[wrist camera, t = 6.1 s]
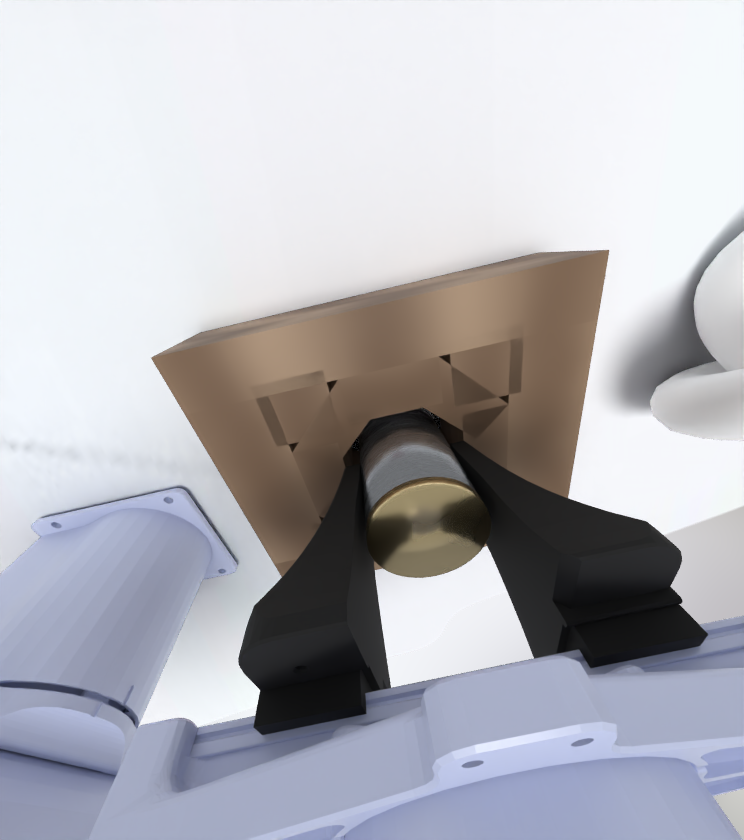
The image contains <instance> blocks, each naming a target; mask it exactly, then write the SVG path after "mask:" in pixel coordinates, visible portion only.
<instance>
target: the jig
mask: <svg viewBox="0 0 744 840" xmlns="http://www.w3.org/2000/svg"><path fill="white" fill-rule="evenodd" d="M608 255H609V250H597V251H570V252H542V253H535V254H531V255H527V256H523V257H519V258H514V259H510V260H506V261H502V262H497V263H493V264H489V265H485V266H480V267H476V268H472V269H468V270H463V271H459V272H455V273H451V274H447V275H442V276H438V277H434V278H430V279H425V280H421V281H417V282H413V283H408V284H404V285H400V286H396V287H392V288H387V289H383V290H379V291H375V292H370V293H366V294H362V295H358V296H353V297H349V298H345V299H341V300H336V301H332V302H328V303H324V304H320V305H315V306H311V307H307V308H303V309H298V310H294V311H290V312H286V313H281V314H277V315H273V316H269V317H265V318H260V319H256V320H252V321H248V322H243V323H239V324H235V325H231V326H226V327H222V328H218V329H214V330H210V331H205V332H201V333H199V334H197V335H195V336H193V337H191V338H189V339H187V340H185V341H183V342H181V343H179V344H177V345H175V346H173V347H171V348H169V349H167V350H165V351H163V352H161V353H159V354H158V355H156V356H154V357H152V360H153V362H154V364H155V365H156V367H157V369H158V370H159V372H160V374H161V375H162V377H163V379H164V380H165V382H166V384H167V385H168V387H169V389H170V390H171V392H172V394H173V395H174V397H175V399H176V400H177V402H178V404H179V405H180V407H181V409H182V410H183V412H184V414H185V415H186V417H187V419H188V420H189V422H190V424H191V425H192V427H193V429H194V431H195V432H196V434H197V436H198V437H199V439H200V441H201V442H202V444H203V446H204V447H205V449H206V451H207V452H208V454H209V456H210V457H211V459H212V461H213V462H214V464H215V466H216V467H217V469H218V471H219V472H220V474H221V476H222V477H223V479H224V481H225V482H226V484H227V486H228V487H229V489H230V491H231V492H232V494H233V496H234V497H235V499H236V501H237V503H238V504H239V506H240V508H241V509H242V511H243V513H244V514H245V516H246V518H247V519H248V521H249V523H250V524H251V526H252V528H253V529H254V531H255V533H256V534H257V536H258V538H259V539H260V541H261V543H262V544H263V546H264V548H265V549H266V551H267V553H268V554H269V556H270V558H271V559H272V561H273V563H274V564H275V566H276V568H277V570H278V571H279V573H280V575H281V576H282V577H283V576H284V575H285V573H286V572H287V571H288V570H289V568H290V567H291V566H292V565H293V564H294V562H295V561H296V560H297V559H298V557H299V556H300V555H301V553H302V552H303V551H304V549H305V548H306V546H307V545H308V543H309V542H310V541H311V539H312V538H313V536H314V534H315V533H316V531H317V529H318V528H319V526H320V524H321V523H322V521H323V519H324V517H325V515H326V513H327V511H328V509H329V507H330V505H331V503H332V501H333V498H334V496H335V494H336V491H337V489H338V487H339V484H340V481H341V478H342V475H343V472H344V469H345V468H346V467H347V466H352V465H356V464H360V452H359V451H357V450H355V449H353V448H352V444H353V443H354V441H355V440H356V439H357V437H358V436H359V434H360V433H361V432H362V430H363V429H364V427H365V426H366V425H367V423H368V422H369V420H370V419H375V418H379V417H384V416H388V415H392V414H397V413H401V412H406V411H410V410H415V409H419V408H425V409H426V410H428V411H430V412H432V413H433V414H435V415H437V416H438V417H440V426H441V428H440V431H441V432H442V434H443V436H444V438H445V439H446V441H447V443H448V444H449V446H450V443H455V442H459V441H465V442H467V443H468V444H469V445H471V446H472V447H474V448H475V449H477V450H478V451H479V452H481V453H482V454H484V455H485V456H487V457H488V458H490V459H491V460H493V461H494V462H496V463H497V464H499V465H500V466H502V467H504V468H505V469H507V470H509V471H510V472H512V473H514V474H516V475H518V476H519V477H521V478H523V479H525V480H527V481H529V482H531V483H533V484H535V485H537V486H540V487H542V488H544V489H546V490H548V491H551V492H553V493H556V494H558V495H561V496H563V497H566V498H568V494H569V488H570V482H571V476H572V470H573V464H574V458H575V452H576V446H577V440H578V434H579V428H580V422H581V416H582V410H583V404H584V398H585V392H586V386H587V380H588V374H589V368H590V362H591V356H592V350H593V344H594V338H595V332H596V326H597V320H598V314H599V308H600V302H601V296H602V291H603V285H604V279H605V273H606V267H607V261H608ZM360 467H361V464H360ZM485 546H487V544H485V545H484V547H485ZM374 568H375V570H377V569H382V567H380V566H379V565H378V564H377V563H376V562H375V561H374Z"/></svg>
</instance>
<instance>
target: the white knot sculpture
mask: <svg viewBox="0 0 744 840" xmlns="http://www.w3.org/2000/svg"><path fill="white" fill-rule="evenodd" d="M694 314H695V321H696V327H697V330H698V333H699V336H700V338H701V340H702V341H703V343H704V345H705V347H706V348H707V349H708V351H709V352H710V353H711V355H712V356H713V357H714V358H715V359H716V360H717V361H715V362H711V363H707V364H703V365H699V366H696V367H693V368H690V369H687V370H684V371H682V372H680V373H677V374H675V375H674V376H672V377H671V378H669V379H667V380H666V381H664V382H663V383H661V384H660V385H658V386H657V387H656V389H655V391H654V393H653V395H652V397H651V400H650V406H651V410H652V414H653V417H655V418H656V419H657V420H658V421H660V422H661V423H662V424H663V425H664V426H666V427H667V428H668V429H669V430H671V431H675V432H679V433H682V434H686V435H691V436H695V437H699V438H704V439H713V440H731V441H744V231H743V232H742V233H741V234H739V235H738V236H737V237H736V238H735V239H734V240H733V241H732V242H730V243H729V244H728V245H727V246H726V247H725V248H724V249H723V250H721V251H720V252H719V254H718V255H717V256H716V257H715V259H714V260H713V261H712V262H711V264H710V265H709V266H708V268H707V269H706V270H705V272H704V274H703V276H702V278H701V280H700V282H699V284H698V286H697V289H696V294H695V298H694Z"/></svg>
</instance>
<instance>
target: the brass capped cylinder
mask: <svg viewBox="0 0 744 840" xmlns="http://www.w3.org/2000/svg"><path fill="white" fill-rule="evenodd" d="M359 451H360V464H361V475H362V488H363V500H364V512H365V525H366V537H367V547H368V551H369V553H370V555H371V557H372V558H373V560H374V561H375V562H376V563H377V564H378V565H379V566H380V567H382V568H383V569H385V570H387V571H388V572H391V573H393V574H396V575H400V576H405V577H414V578H423V577H431V576H437V575H441V574H444V573H447V572H450V571H452V570H455V569H457V568H459V567H461V566H462V565H464V564H466V563H467V562H469V561H470V560H471V559H472V558H474V557H475V556H476V555H477V554H478V553H479V552H480V551H481V549H482V548H483V547H484V545H485V544H486V542H487V540H488V538H489V535H490V531H491V517H490V514H489V512H488V510H487V508H486V506H485V505H484V503H483V501H482V500H481V498H480V496H479V495H478V493H477V491H476V490H475V488H474V486H473V485H472V483H471V481H470V480H469V478H468V476H467V474H466V473H465V471H464V469H463V468H462V466H461V464H460V463H459V461H458V459H457V458H456V456H455V454H454V453H453V451H452V449H451V448H450V446H449V444H448V443H447V441H446V439H445V438H444V436H443V434H442V432H441V431H440V429H439V427H438V426H437V424H436V422H435V421H434V419H433V418H432V416H431V415H430V414H429V413H428V412H427V411H425V410H424V409H422V408H419V409H415V410H410V411H406V412H401V413H397V414H392V415H388V416H384V417H379V418H375V419H370V420H369V422H368V423H367V425H366V426H365V427H364V429H363V430H362V432H361V433H360V434H359Z"/></svg>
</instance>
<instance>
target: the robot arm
mask: <svg viewBox="0 0 744 840" xmlns="http://www.w3.org/2000/svg"><path fill="white" fill-rule="evenodd" d="M450 448H451V449H452V451H453V453H454V454H455V456H456V458H457V459H458V461H459V463H460V464H461V466H462V468H463V469H464V471H465V473H466V474H467V476H468V478H469V480H470V481H471V483H472V485H473V486H474V488H475V490H476V491H477V493H478V495H479V496H480V498H481V500H482V501H483V503H484V505H485V506H486V508H487V510H488V512H489V514H490V517H491V531H490V535H489V538H488V540H487V542H486V544H487V546H488V548H489V550H490V552H491V554H492V557H493V559H494V561H495V564H496V566H497V568H498V570H499V573H500V575H501V577H502V580H503V582H504V584H505V587H506V589H507V591H508V594H509V596H510V598H511V601H512V603H513V606H514V608H515V611H516V613H517V616H518V618H519V620H520V623H521V625H522V628H523V630H524V633H525V636H526V638H527V641H528V644H529V646H530V649H531V651H532V654H533V656H534V659H529V660H525V661H520V662H515V663H510V664H505V665H500V666H496V667H491V668H486V669H481V670H476V671H471V672H466V673H461V674H456V675H452V676H447V677H442V678H437V679H432V680H427V681H422V682H417V683H413V684H408V685H403V686H398V687H393V688H391V685H390V678H389V672H388V665H387V659H386V652H385V645H384V638H383V631H382V624H381V617H380V610H379V603H378V595H377V587H376V580H375V568H374V560H373V558H372V557H371V555H370V553H369V551H368V547H367V537H366V525H365V512H364V500H363V488H362V475H361V467H360V464H356V465H352V466H347V467H346V468H345V469H344V472H343V475H342V478H341V481H340V484H339V487H338V489H337V491H336V494H335V496H334V498H333V501H332V503H331V505H330V507H329V509H328V511H327V513H326V515H325V517H324V519H323V521H322V523H321V524H320V526H319V528H318V529H317V531H316V533H315V534H314V536H313V538H312V539H311V541H310V542H309V543H308V545H307V546H306V548H305V549H304V551H303V552H302V553H301V555H300V556H299V557H298V559H297V560H296V561H295V562H294V564H293V565H292V566H291V567H290V568H289V570H288V571H287V572H286V573H285V575H284V576H283V577H282V578H281V579H280V580H279V581H278V582H277V583H276V585H275V586H274V587H273V588H272V589H271V590H270V591H269V592H268V593H267V594H266V595H265V596H264V597H263V598H262V599H261V600H260V601H259V602H258V603H257V604H256V605H255V606H254V608H253V611H252V614H251V616H250V619H249V622H248V625H247V628H246V631H245V635H244V639H243V643H242V647H241V650H240V654H239V658H238V659H239V666H240V668H241V669H242V671H243V672H244V674H245V675H246V676H247V677H248V678H249V679H250V680H251V681H252V682H253V683H254V684H255V685H256V686H257V687H258V688H259V689H260V695H259V700H258V705H257V711H256V716H252V717H247V718H242V719H238V720H232V721H227V722H223V723H218V724H213V725H208V726H203V727H198V728H197V726H196V725H195V724H194V723H193V722H192V721H191V720H188V719H185V718H174V719H169V720H164V721H159V722H154V723H149V724H144V725H141V726H139V724H140V721H141V719H142V717H143V715H144V712H145V710H146V708H147V705H148V703H149V701H150V699H151V696H152V694H153V692H154V689H155V687H156V685H157V683H158V680H159V678H160V676H161V673H162V671H163V669H164V667H165V664H166V662H167V660H168V657H169V655H170V653H171V651H172V648H173V646H174V644H175V641H176V639H177V637H178V635H179V632H180V630H181V628H182V625H183V623H184V621H185V619H186V616H187V614H188V612H189V610H190V607H191V605H192V603H193V600H194V598H195V596H196V594H197V591H198V589H199V587H200V584H201V582H202V580H203V579H208V578H213V577H217V576H222V575H226V574H231V573H234V572H235V571H236V569H237V566H238V565H237V563H236V562H235V560H234V559H233V557H232V556H231V554H230V553H229V552H228V550H227V549H226V547H225V546H224V544H223V543H222V542H221V540H220V539H219V537H218V536H217V534H216V533H215V532H214V530H213V529H212V527H211V526H210V524H209V523H208V522H207V520H206V519H205V517H204V516H203V514H202V513H201V511H200V510H199V509H198V507H197V506H196V504H195V503H194V501H193V500H192V499H191V497H190V496H189V494H188V493H187V492H186V491H185V490H183V489H181V488H174V489H170V490H165V491H161V492H156V493H152V494H147V495H143V496H139V497H134V498H130V499H125V500H121V501H116V502H112V503H107V504H103V505H98V506H94V507H89V508H85V509H81V510H76V511H72V512H67V513H63V514H58V515H54V516H49V517H45V518H40V519H38V520H36V521H35V522H34V523H33V524H32V525H31V528H32V530H33V531H34V532H36V533H37V534H38V535H39V536H40V538H39V539H38V540H37V541H36V542H35V543H34V544H32V545H31V546H30V547H29V548H28V549H27V550H26V551H25V552H24V553H23V554H22V555H20V556H19V557H18V558H17V559H16V560H15V561H14V562H13V563H12V564H11V565H10V566H8V567H7V568H6V569H5V570H4V571H3V572H2V573H1V574H0V840H743V839H742V838H741V836H740V835H739V833H738V832H737V831H736V829H735V828H734V826H733V825H732V823H731V822H730V820H729V819H728V818H727V816H726V815H725V813H724V812H723V810H722V809H721V807H720V806H719V805H718V803H717V802H716V800H715V799H714V797H713V796H716V795H720V794H724V793H728V792H733V791H737V790H741V789H744V616H739V617H734V618H729V619H724V620H719V621H715V622H710V623H705V624H700V625H699V624H698V623H697V622H696V621H695V620H694V619H693V618H692V617H691V616H690V615H689V614H688V613H687V612H686V611H685V610H684V609H683V608H682V607H681V606H680V605H679V604H681V603H682V599H681V597H680V596H679V595H678V594H677V593H676V592H675V591H674V590H673V589H672V588H671V587H670V586H671V584H672V582H673V580H674V578H675V576H676V574H677V572H678V570H679V568H680V565H681V562H682V556H681V551H680V550H679V549H678V548H677V547H676V546H675V545H674V544H673V543H672V542H670V541H669V540H668V539H667V538H666V537H665V536H664V535H662V534H661V533H660V532H659V531H658V530H656V529H655V528H654V527H653V526H652V525H650V524H649V523H648V522H646V521H642V520H639V519H635V518H631V517H627V516H623V515H619V514H615V513H611V512H608V511H604V510H601V509H598V508H595V507H592V506H588V505H585V504H582V503H579V502H577V501H574V500H571V499H568V498H566V497H563V496H561V495H558V494H556V493H553V492H551V491H548V490H546V489H544V488H542V487H540V486H537V485H535V484H533V483H531V482H529V481H527V480H525V479H523V478H521V477H519V476H518V475H516V474H514V473H512V472H510V471H509V470H507V469H505V468H504V467H502V466H500V465H499V464H497V463H496V462H494V461H493V460H491V459H490V458H488V457H487V456H485V455H484V454H482V453H481V452H479V451H478V450H477V449H475V448H474V447H472V446H471V445H469V444H468V443H467V442H465V441H459V442H455V443H450ZM169 497H170V498H169ZM171 498H172V499H171ZM138 726H139V727H138Z"/></svg>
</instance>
